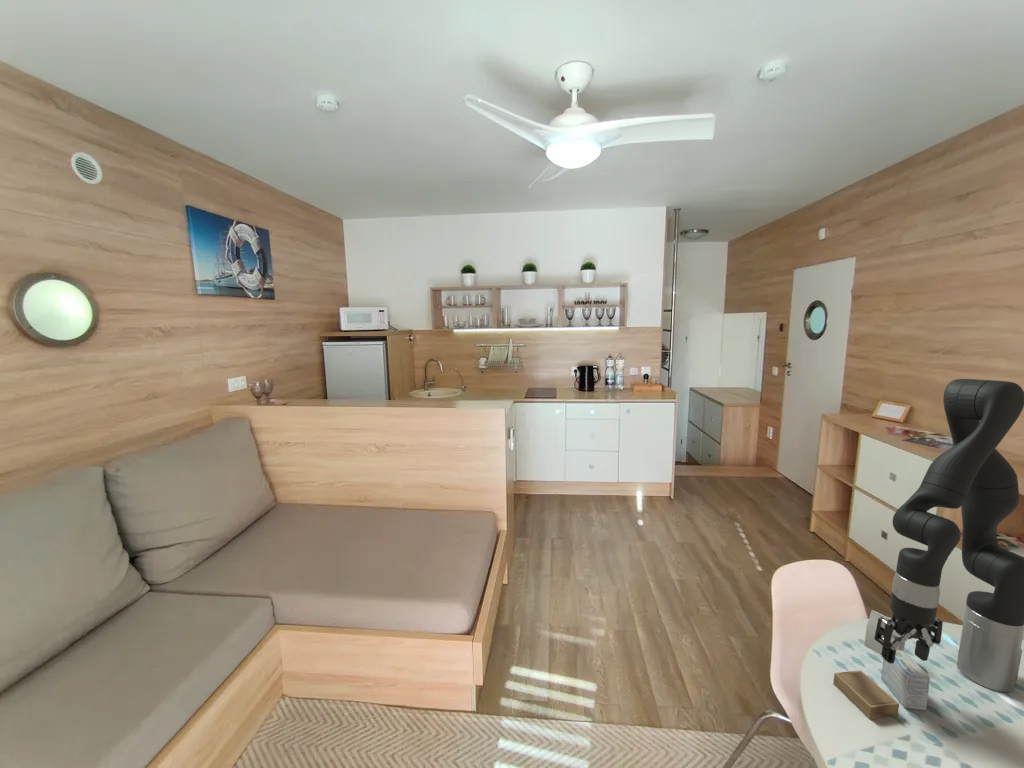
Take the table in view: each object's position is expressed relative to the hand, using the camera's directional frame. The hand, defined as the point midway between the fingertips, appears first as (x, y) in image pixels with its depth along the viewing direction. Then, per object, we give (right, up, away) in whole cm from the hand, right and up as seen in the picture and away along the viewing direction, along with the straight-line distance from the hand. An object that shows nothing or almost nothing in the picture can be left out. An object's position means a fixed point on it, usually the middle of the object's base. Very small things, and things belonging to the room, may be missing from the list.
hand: (904, 659), depth 95 cm
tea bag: (+8, -7, +14) cm, 17 cm away
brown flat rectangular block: (-9, -9, 0) cm, 13 cm away
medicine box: (+1, -9, +1) cm, 9 cm away
